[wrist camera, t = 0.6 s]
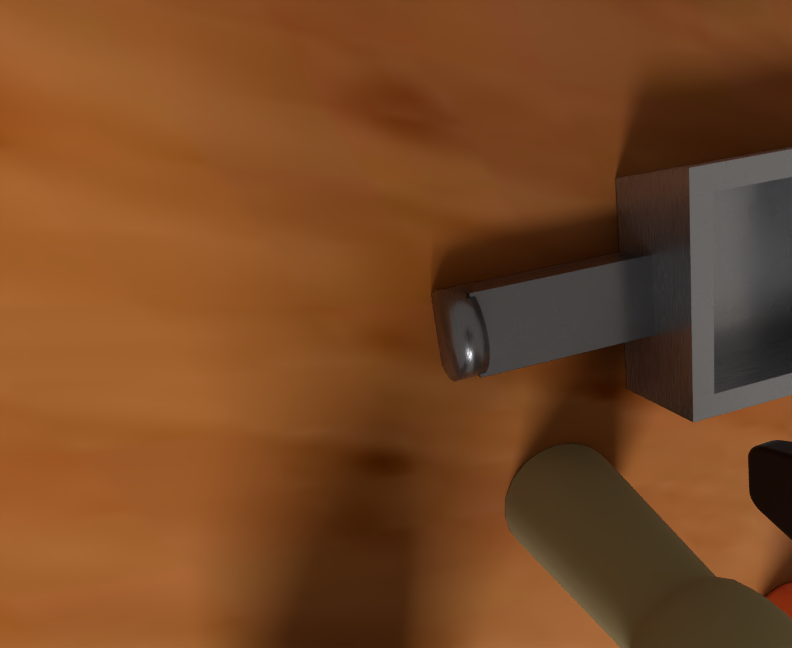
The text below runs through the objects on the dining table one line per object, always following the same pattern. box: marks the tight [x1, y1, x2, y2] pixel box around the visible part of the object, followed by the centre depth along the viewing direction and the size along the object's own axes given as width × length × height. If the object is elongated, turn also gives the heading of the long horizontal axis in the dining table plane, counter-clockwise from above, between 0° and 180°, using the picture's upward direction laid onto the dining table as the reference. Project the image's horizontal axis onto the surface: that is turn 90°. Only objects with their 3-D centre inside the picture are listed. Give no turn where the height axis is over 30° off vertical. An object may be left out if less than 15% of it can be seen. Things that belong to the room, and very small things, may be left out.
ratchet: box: [431, 146, 792, 422], centre depth 20 cm, size 10×19×5 cm, turn 100°
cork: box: [505, 443, 792, 648], centre depth 18 cm, size 6×6×11 cm
